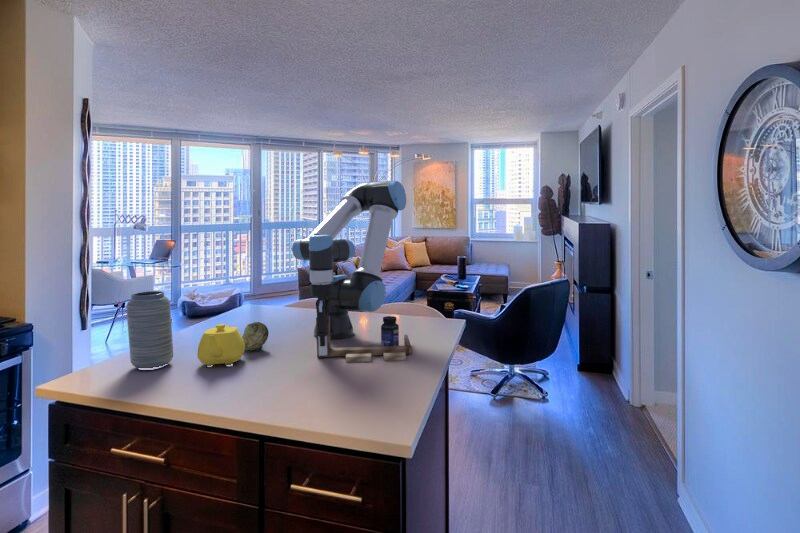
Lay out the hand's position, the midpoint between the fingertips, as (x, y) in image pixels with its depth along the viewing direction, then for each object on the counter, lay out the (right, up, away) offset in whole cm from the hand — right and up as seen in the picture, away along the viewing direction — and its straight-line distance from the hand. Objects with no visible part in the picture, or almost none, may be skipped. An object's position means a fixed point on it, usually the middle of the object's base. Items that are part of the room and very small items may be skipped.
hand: (323, 352), depth 145 cm
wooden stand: (+13, 0, +6) cm, 14 cm away
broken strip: (+18, -1, -4) cm, 19 cm away
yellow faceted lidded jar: (-31, -2, -6) cm, 32 cm away
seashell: (-25, -1, +10) cm, 27 cm away
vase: (-52, -3, -8) cm, 52 cm away
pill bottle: (+22, 0, +8) cm, 23 cm away
